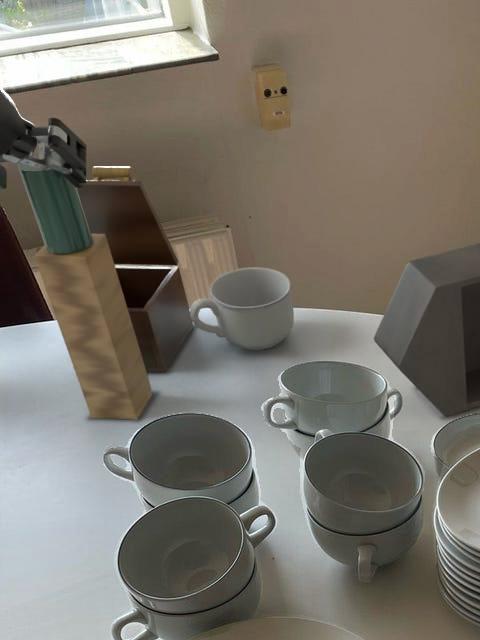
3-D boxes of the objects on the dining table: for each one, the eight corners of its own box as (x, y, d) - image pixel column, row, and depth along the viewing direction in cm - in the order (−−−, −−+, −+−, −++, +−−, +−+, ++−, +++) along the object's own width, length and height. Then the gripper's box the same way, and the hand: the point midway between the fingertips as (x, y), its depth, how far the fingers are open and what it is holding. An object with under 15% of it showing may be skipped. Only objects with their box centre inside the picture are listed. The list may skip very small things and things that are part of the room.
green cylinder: (38, 254, 112) (9, 171, 106) (57, 234, 116) (30, 152, 110) (83, 255, 112) (56, 171, 105) (100, 235, 115) (75, 153, 109)
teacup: (291, 314, 145) (282, 260, 139) (306, 350, 137) (297, 295, 132) (194, 332, 142) (180, 278, 136) (204, 370, 134) (190, 314, 129)
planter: (391, 299, 111) (554, 255, 117) (365, 271, 116) (523, 231, 122) (405, 429, 123) (552, 384, 129) (380, 399, 128) (523, 357, 134)
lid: (139, 185, 124) (148, 154, 126) (57, 184, 125) (67, 153, 127) (177, 265, 136) (185, 236, 138) (102, 264, 137) (111, 234, 139)
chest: (164, 372, 134) (147, 311, 128) (88, 370, 135) (67, 309, 129) (193, 326, 143) (178, 266, 137) (122, 324, 144) (104, 265, 138)
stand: (91, 418, 127) (33, 255, 112) (108, 392, 131) (55, 232, 116) (137, 419, 126) (85, 256, 112) (153, 393, 131) (105, 233, 116)
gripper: (31, 56, 91) (107, 143, 107) (-122, 58, 92) (-22, 145, 108) (29, 139, 91) (106, 214, 107) (-123, 141, 92) (-23, 215, 108)
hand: (42, 179), depth 107 cm, fingers open, 8 cm apart
